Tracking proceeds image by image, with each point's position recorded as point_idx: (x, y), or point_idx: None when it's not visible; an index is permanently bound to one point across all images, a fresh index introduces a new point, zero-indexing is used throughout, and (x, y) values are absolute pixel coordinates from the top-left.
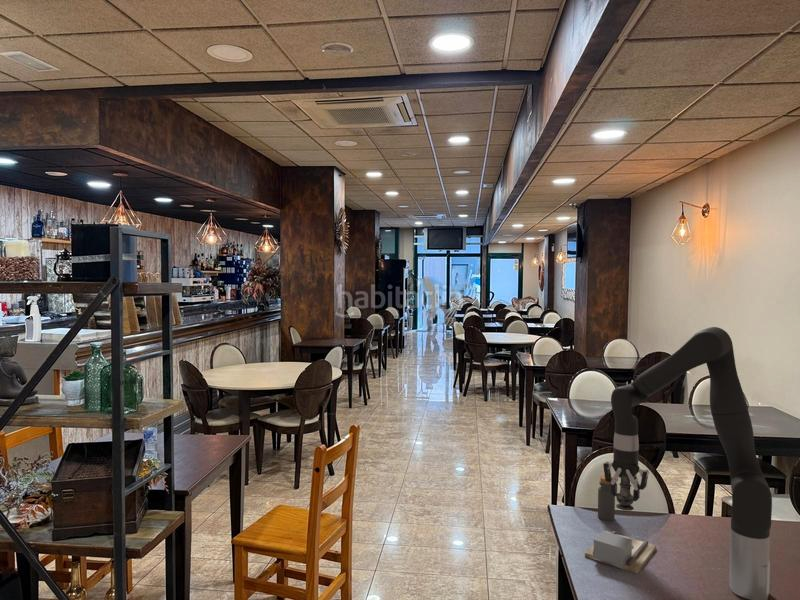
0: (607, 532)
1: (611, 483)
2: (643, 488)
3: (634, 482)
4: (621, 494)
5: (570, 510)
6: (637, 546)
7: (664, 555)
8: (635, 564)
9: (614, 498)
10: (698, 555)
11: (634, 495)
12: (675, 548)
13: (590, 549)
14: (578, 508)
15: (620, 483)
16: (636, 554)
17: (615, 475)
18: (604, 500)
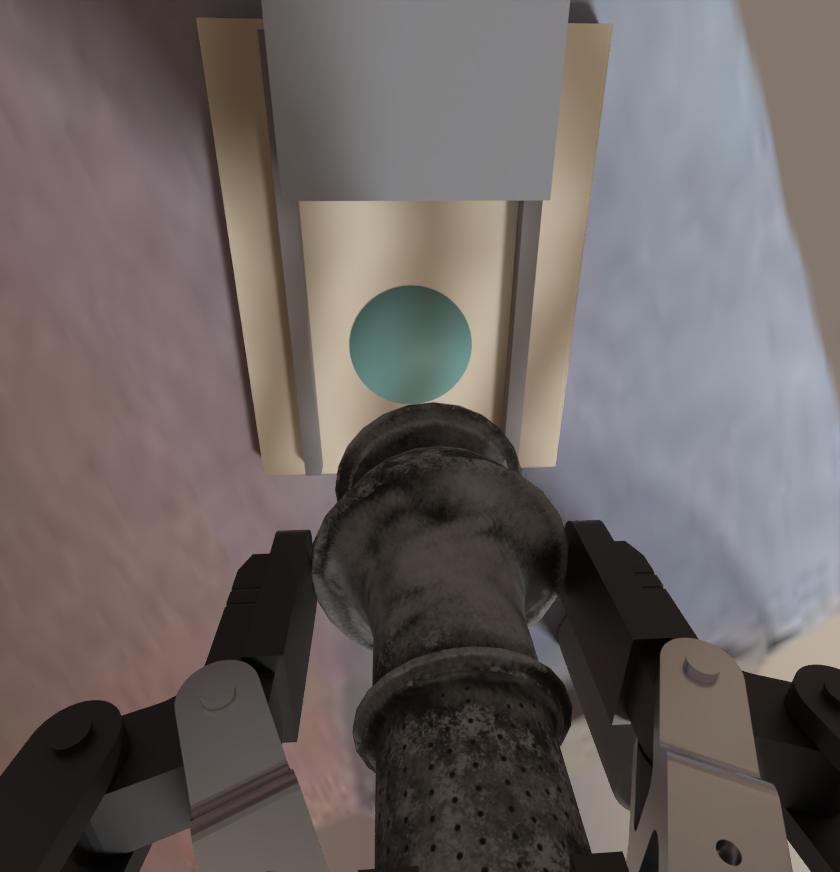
0: (505, 195)
1: (712, 655)
2: (44, 735)
3: (202, 814)
4: (480, 541)
5: (783, 596)
6: (340, 392)
7: (200, 422)
8: (243, 103)
9: (596, 739)
10: (77, 535)
11: (280, 584)
12: (196, 535)
13: (586, 121)
14: (745, 637)
15: (554, 720)
16: (279, 228)
17: (755, 866)
18: None
